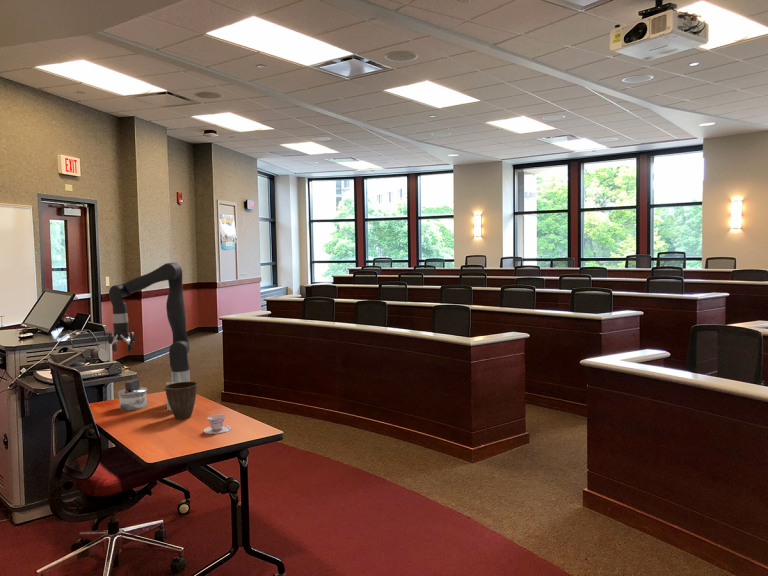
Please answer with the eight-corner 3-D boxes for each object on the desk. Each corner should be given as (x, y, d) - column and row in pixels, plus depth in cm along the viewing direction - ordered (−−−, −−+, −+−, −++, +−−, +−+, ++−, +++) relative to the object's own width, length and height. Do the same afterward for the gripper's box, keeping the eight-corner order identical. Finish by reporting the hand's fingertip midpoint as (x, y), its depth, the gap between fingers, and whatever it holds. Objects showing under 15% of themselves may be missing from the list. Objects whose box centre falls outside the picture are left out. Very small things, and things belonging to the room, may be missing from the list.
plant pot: (161, 422, 274) (159, 389, 273) (174, 413, 289) (172, 381, 288) (191, 421, 273) (189, 388, 272) (203, 412, 288) (201, 381, 287)
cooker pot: (152, 404, 308) (151, 389, 307) (138, 411, 294) (137, 395, 294) (129, 403, 310) (128, 389, 309) (113, 411, 296) (112, 395, 296)
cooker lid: (152, 389, 307) (151, 378, 307) (137, 396, 294) (136, 384, 293) (128, 389, 310) (127, 377, 309) (112, 395, 296) (111, 384, 295)
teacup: (209, 426, 265) (208, 413, 265) (234, 426, 264) (234, 413, 264) (199, 434, 253) (198, 421, 253) (225, 434, 252) (225, 420, 252)
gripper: (136, 320, 313) (138, 350, 314) (112, 321, 315) (114, 350, 317) (128, 322, 306) (130, 352, 307) (104, 322, 308) (106, 352, 309)
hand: (122, 351), depth 312 cm, fingers open, 8 cm apart
